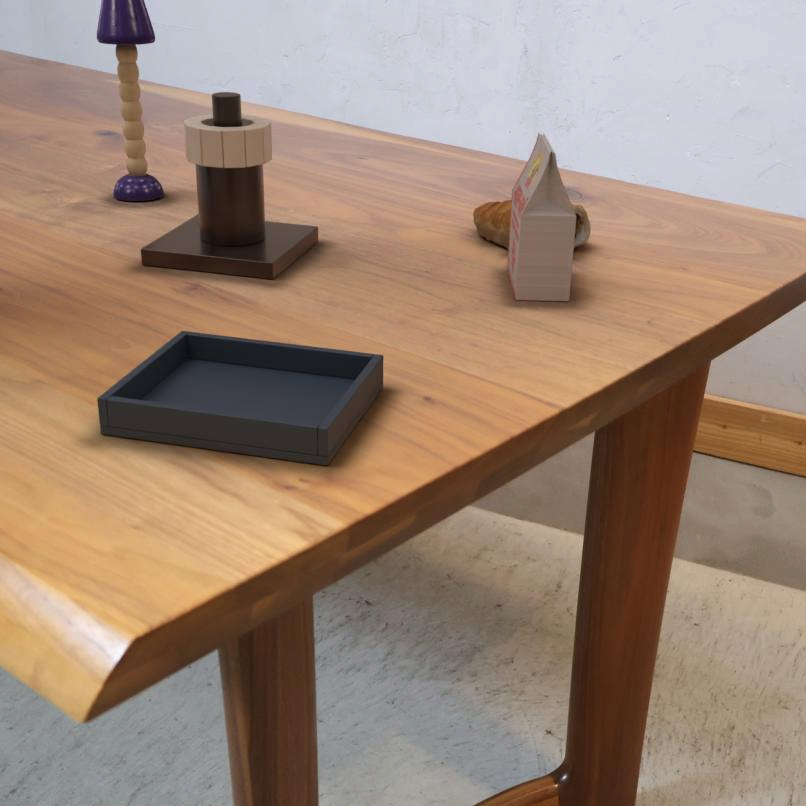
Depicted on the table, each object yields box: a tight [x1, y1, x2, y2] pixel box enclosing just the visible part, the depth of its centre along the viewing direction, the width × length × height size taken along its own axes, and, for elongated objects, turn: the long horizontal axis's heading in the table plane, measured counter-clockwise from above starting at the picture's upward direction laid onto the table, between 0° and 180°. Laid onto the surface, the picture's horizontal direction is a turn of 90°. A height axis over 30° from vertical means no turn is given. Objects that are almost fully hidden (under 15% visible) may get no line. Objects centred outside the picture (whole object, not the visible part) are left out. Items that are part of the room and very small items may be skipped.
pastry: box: [472, 199, 591, 250], centre depth 91 cm, size 9×7×4 cm
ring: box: [183, 113, 273, 168], centre depth 82 cm, size 6×6×3 cm
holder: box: [140, 91, 319, 280], centre depth 84 cm, size 10×10×12 cm
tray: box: [96, 330, 384, 467], centre depth 61 cm, size 12×10×2 cm
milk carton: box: [506, 132, 576, 302], centre depth 80 cm, size 4×7×10 cm, turn 2°
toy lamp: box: [96, 0, 165, 202], centre depth 96 cm, size 5×5×17 cm
